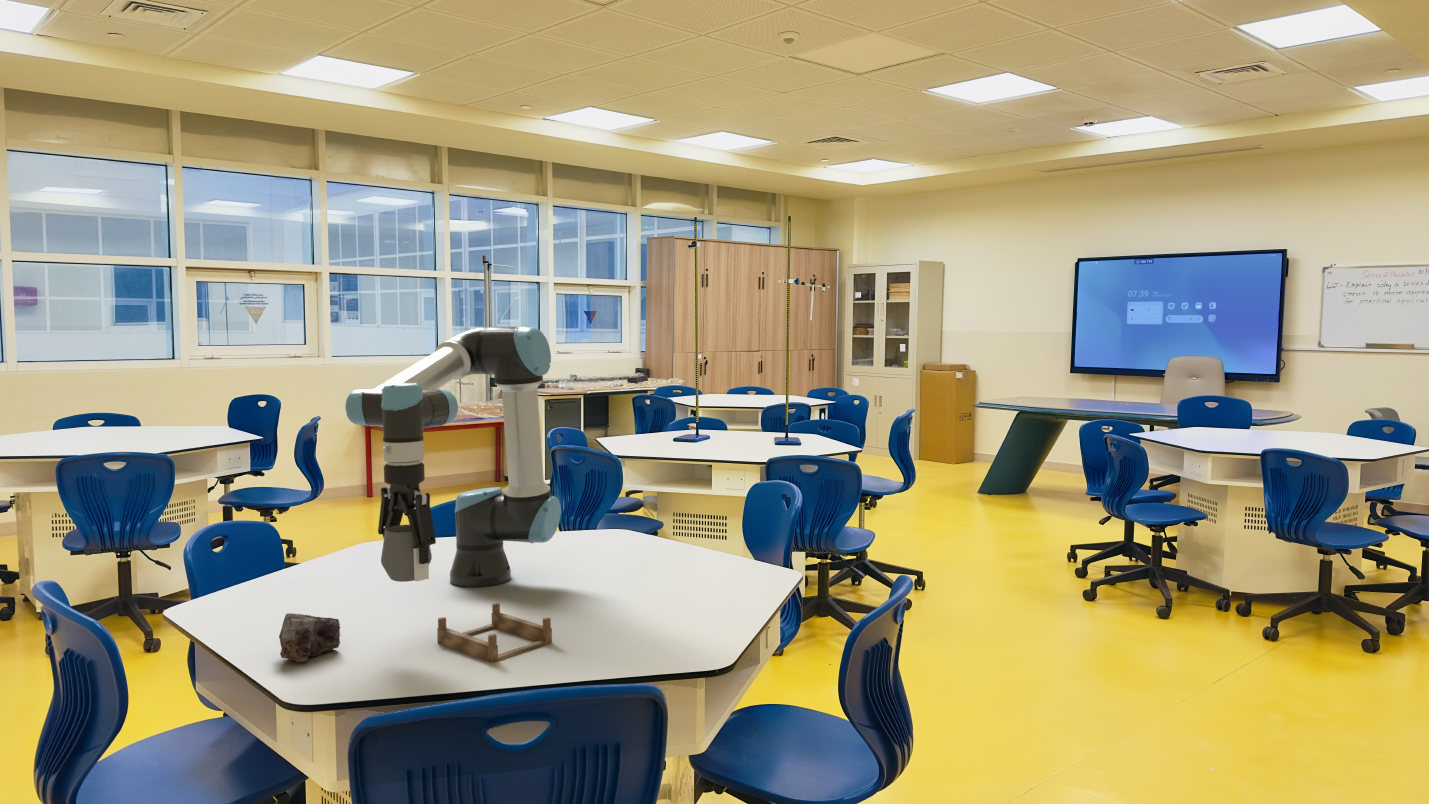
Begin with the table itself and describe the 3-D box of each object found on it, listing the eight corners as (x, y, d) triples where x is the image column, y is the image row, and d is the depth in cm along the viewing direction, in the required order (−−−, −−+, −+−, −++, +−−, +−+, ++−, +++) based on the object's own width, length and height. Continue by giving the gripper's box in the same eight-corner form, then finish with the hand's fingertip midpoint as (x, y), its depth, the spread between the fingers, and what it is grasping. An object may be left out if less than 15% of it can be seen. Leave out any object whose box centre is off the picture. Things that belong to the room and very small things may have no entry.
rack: (436, 642, 189) (436, 618, 189) (497, 624, 201) (496, 602, 200) (491, 662, 177) (491, 637, 177) (552, 642, 189) (552, 618, 189)
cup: (441, 574, 186) (440, 525, 185) (411, 586, 177) (410, 535, 176) (402, 570, 189) (401, 522, 188) (371, 582, 180) (369, 531, 179)
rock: (344, 658, 183) (313, 648, 189) (349, 615, 184) (318, 606, 189) (290, 667, 174) (259, 656, 179) (295, 621, 174) (264, 611, 179)
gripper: (357, 459, 185) (360, 569, 187) (418, 470, 171) (421, 589, 173) (391, 455, 191) (394, 562, 193) (453, 465, 177) (456, 581, 179)
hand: (407, 575), depth 183 cm, fingers closed on cup, 9 cm apart
